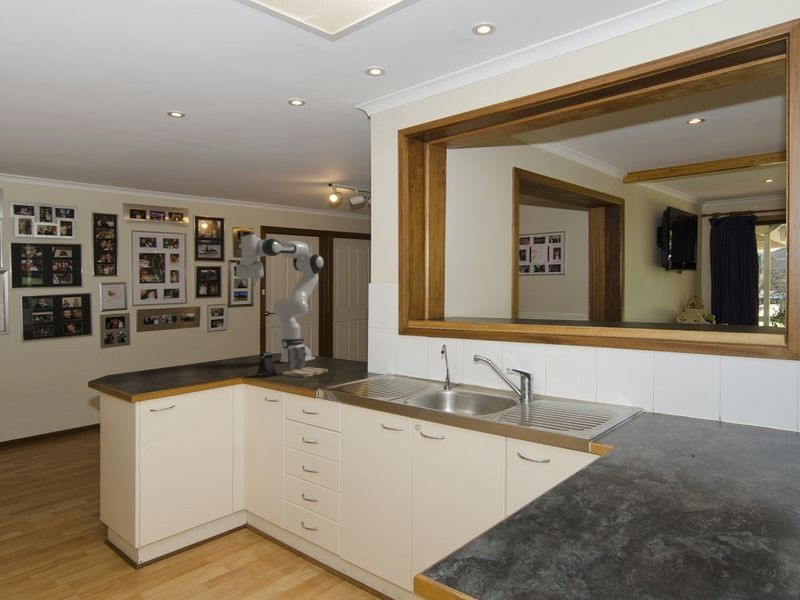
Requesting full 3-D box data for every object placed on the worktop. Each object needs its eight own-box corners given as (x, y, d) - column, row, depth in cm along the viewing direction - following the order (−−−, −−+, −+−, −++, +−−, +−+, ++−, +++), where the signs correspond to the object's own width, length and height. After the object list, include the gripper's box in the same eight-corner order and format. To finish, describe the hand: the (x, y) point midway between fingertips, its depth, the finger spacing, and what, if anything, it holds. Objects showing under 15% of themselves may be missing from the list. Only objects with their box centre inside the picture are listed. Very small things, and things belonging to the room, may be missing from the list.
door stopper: (276, 374, 286) (276, 352, 286) (268, 376, 281) (268, 354, 281) (264, 373, 291) (264, 351, 290) (256, 375, 286) (255, 353, 285)
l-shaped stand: (306, 369, 301) (306, 345, 300) (327, 371, 291) (327, 347, 291) (282, 374, 286) (282, 349, 285) (304, 377, 277) (303, 351, 276)
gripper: (266, 261, 304) (266, 285, 304) (242, 262, 316) (243, 285, 316) (257, 260, 299) (258, 285, 299) (233, 262, 310) (234, 286, 311)
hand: (250, 285), depth 308 cm, fingers open, 8 cm apart
